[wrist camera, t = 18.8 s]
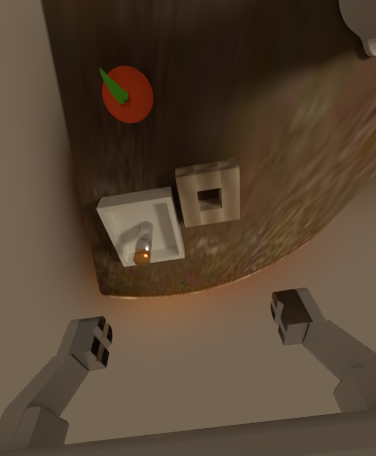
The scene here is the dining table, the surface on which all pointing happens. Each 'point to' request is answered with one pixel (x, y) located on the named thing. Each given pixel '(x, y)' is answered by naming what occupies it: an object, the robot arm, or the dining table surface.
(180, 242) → the tray
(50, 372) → the robot arm
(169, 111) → the dining table surface
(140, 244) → the pin
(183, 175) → the block
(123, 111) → the clementine
